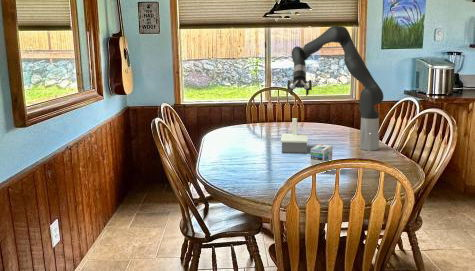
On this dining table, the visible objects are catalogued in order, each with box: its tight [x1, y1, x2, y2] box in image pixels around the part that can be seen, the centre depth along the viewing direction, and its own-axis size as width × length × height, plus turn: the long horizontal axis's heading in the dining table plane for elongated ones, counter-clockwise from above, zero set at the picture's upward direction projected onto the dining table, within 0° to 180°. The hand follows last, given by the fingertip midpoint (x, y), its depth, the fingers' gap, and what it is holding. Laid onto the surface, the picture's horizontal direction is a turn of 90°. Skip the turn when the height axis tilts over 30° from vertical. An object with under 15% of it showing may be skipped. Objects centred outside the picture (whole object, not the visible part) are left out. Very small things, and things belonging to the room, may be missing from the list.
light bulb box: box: [309, 143, 333, 174], centre depth 195 cm, size 11×7×11 cm, turn 148°
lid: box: [280, 117, 309, 144], centre depth 234 cm, size 19×14×11 cm
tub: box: [281, 142, 308, 155], centre depth 235 cm, size 18×13×6 cm
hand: (299, 94), depth 252 cm, fingers open, 8 cm apart
